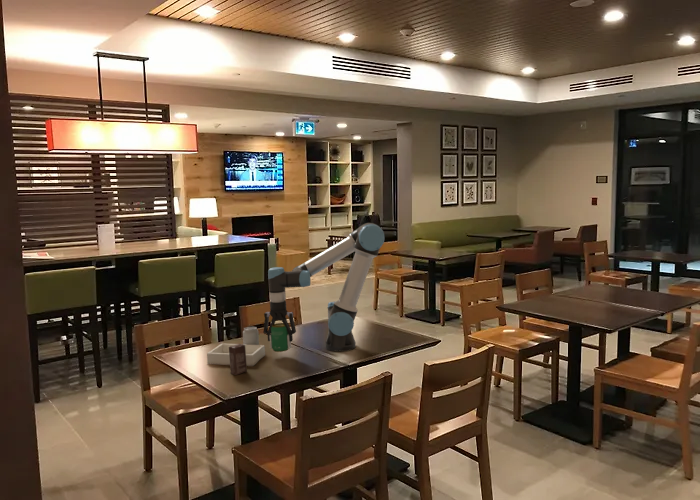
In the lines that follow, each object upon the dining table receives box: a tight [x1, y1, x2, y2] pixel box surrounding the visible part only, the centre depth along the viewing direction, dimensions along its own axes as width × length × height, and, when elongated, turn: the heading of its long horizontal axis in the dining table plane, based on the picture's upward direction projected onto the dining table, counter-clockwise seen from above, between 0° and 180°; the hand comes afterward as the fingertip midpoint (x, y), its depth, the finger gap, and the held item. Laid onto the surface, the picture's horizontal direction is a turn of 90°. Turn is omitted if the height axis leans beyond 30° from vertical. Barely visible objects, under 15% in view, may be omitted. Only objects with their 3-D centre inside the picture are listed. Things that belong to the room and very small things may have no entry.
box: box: [229, 343, 248, 376], centre depth 244 cm, size 6×4×12 cm
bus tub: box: [206, 343, 266, 367], centre depth 263 cm, size 22×16×5 cm
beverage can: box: [271, 322, 289, 353], centre depth 264 cm, size 8×8×12 cm
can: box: [242, 326, 260, 345], centre depth 275 cm, size 8×8×12 cm
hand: (280, 347), depth 265 cm, fingers closed on beverage can, 8 cm apart
